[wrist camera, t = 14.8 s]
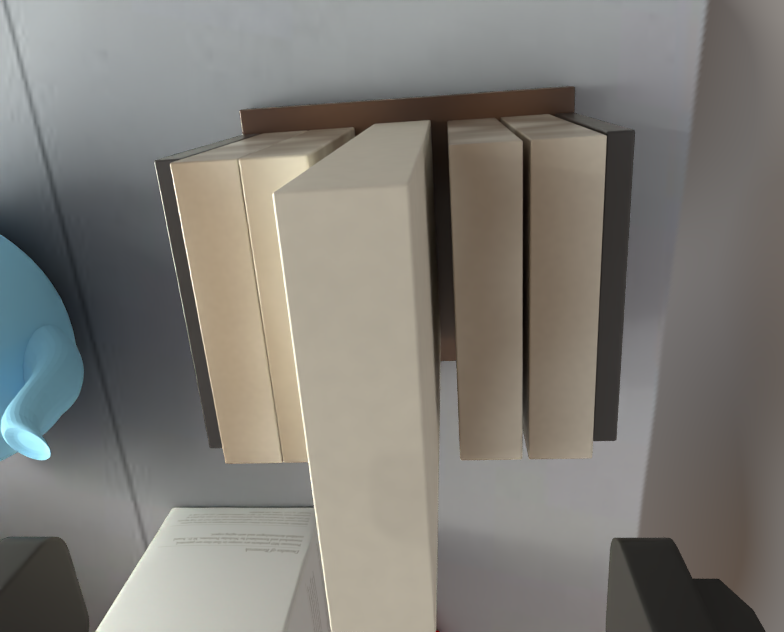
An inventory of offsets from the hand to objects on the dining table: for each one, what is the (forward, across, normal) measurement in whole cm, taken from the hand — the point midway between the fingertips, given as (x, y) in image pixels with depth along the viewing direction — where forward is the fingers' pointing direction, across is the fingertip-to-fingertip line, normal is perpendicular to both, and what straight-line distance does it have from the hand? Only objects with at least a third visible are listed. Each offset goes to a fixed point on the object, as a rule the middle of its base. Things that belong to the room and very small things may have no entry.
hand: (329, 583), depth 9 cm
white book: (+21, 0, 0) cm, 21 cm away
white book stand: (+22, 0, 0) cm, 22 cm away
